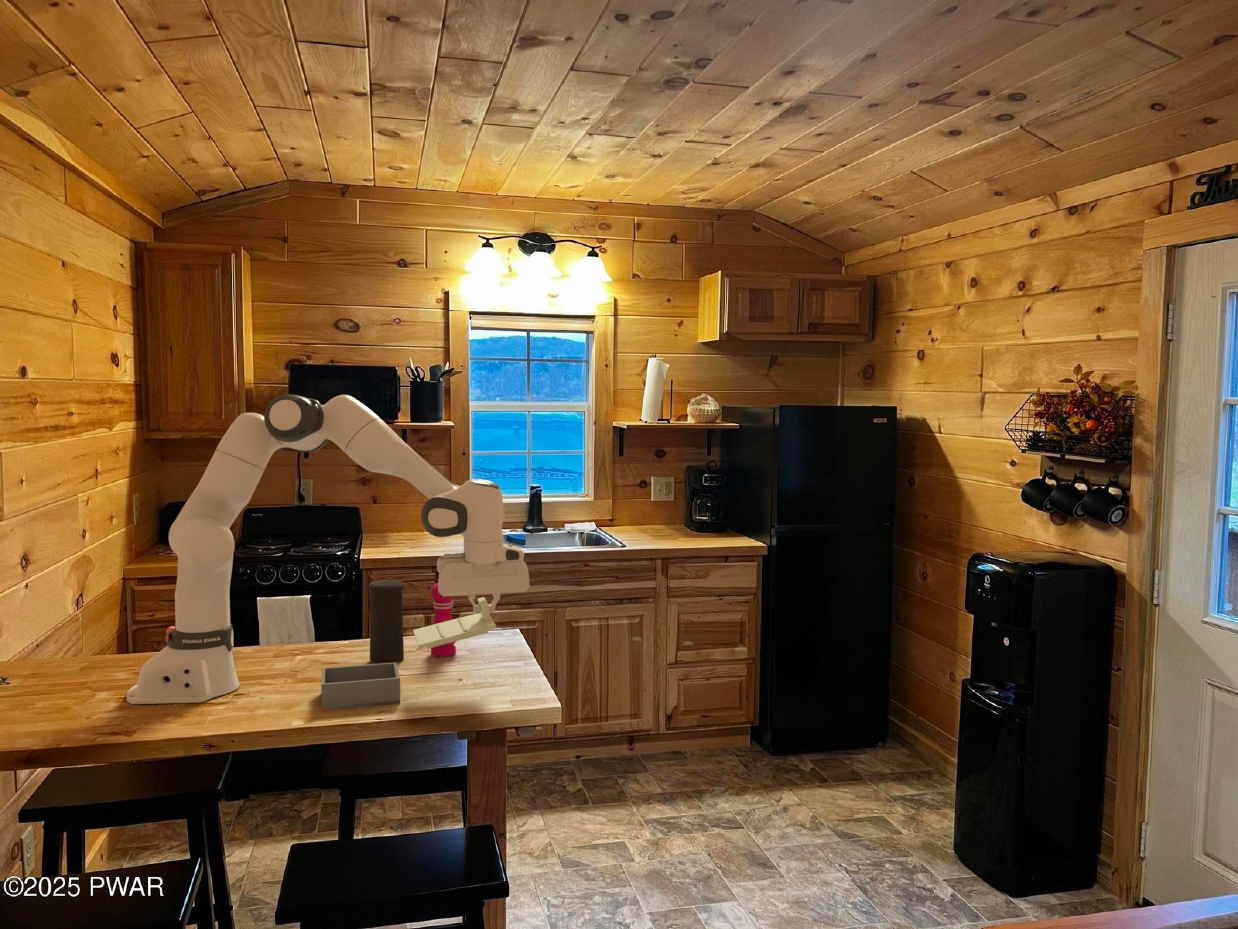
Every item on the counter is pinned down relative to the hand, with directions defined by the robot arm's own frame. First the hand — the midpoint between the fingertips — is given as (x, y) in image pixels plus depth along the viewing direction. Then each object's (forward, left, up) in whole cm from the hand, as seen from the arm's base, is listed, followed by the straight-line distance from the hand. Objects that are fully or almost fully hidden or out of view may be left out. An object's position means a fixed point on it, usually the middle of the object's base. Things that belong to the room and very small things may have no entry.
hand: (484, 612), depth 208 cm
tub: (-27, 0, -17) cm, 32 cm away
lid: (-7, 0, -4) cm, 8 cm away
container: (-20, +27, -17) cm, 38 cm away
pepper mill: (-6, +29, -17) cm, 34 cm away
